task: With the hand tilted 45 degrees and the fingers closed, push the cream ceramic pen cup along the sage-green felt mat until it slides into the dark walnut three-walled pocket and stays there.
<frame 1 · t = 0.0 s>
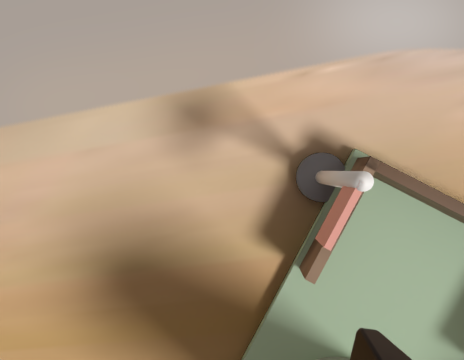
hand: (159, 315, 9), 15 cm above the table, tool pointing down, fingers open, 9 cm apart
cup pocket: (415, 264, 23), resting on green mat
green mat: (366, 345, 24), on the table
flag pin: (320, 177, 24), on the table
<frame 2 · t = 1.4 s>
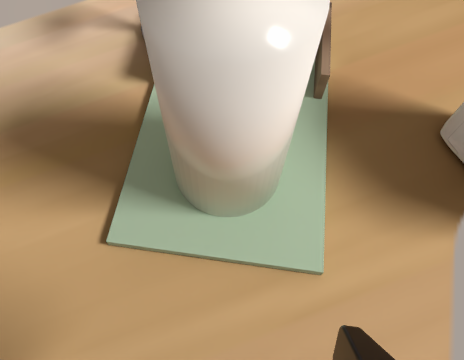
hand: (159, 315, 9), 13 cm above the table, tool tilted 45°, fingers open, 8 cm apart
cup pocket: (245, 55, 30), resting on green mat
green mat: (236, 120, 28), on the table
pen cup: (227, 168, 25), point 1 cm above the table, touching green mat
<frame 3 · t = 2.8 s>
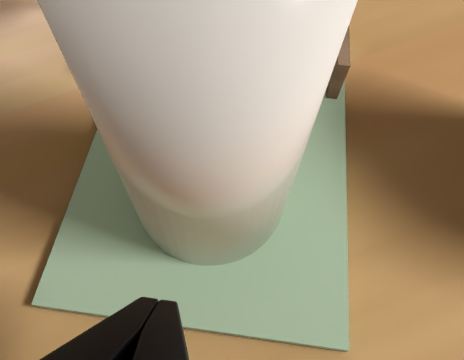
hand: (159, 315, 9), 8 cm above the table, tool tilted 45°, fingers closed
cup pocket: (236, 43, 23), resting on green mat
green mat: (224, 127, 21), on the table
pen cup: (211, 194, 18), point 1 cm above the table, touching green mat
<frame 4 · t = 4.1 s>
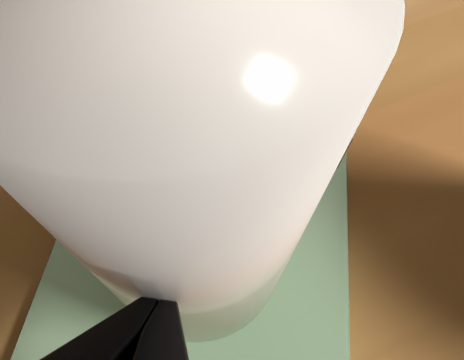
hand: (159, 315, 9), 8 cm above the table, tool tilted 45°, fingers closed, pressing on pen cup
green mat: (211, 202, 19), on the table
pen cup: (199, 256, 17), point 1 cm above the table, touching green mat, gripper
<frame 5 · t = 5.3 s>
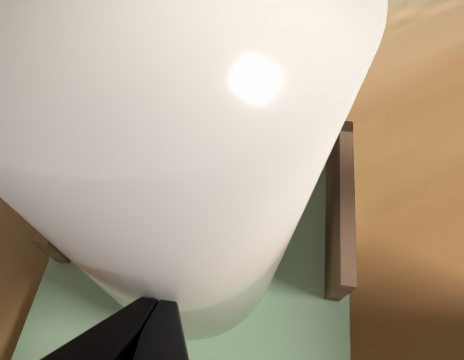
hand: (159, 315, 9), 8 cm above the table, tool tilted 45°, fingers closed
cup pocket: (208, 207, 18), resting on green mat
green mat: (186, 345, 16), on the table
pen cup: (194, 254, 17), point 1 cm above the table, touching green mat
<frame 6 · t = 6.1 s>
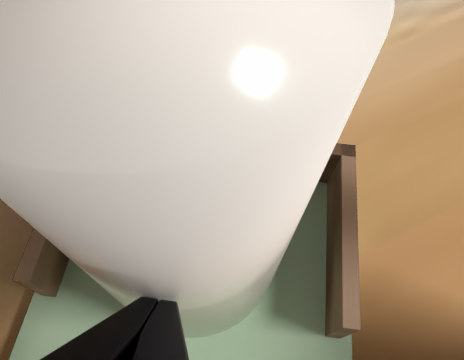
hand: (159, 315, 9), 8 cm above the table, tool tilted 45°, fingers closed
cup pocket: (203, 235, 17), resting on green mat
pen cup: (194, 251, 17), point 1 cm above the table, touching green mat, gripper
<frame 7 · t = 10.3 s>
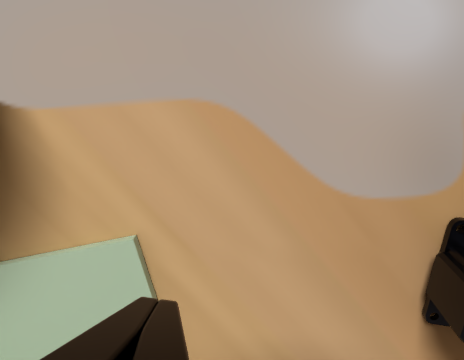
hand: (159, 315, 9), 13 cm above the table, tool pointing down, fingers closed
green mat: (18, 351, 26), on the table
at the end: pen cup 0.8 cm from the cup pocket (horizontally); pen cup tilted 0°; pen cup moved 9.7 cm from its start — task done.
